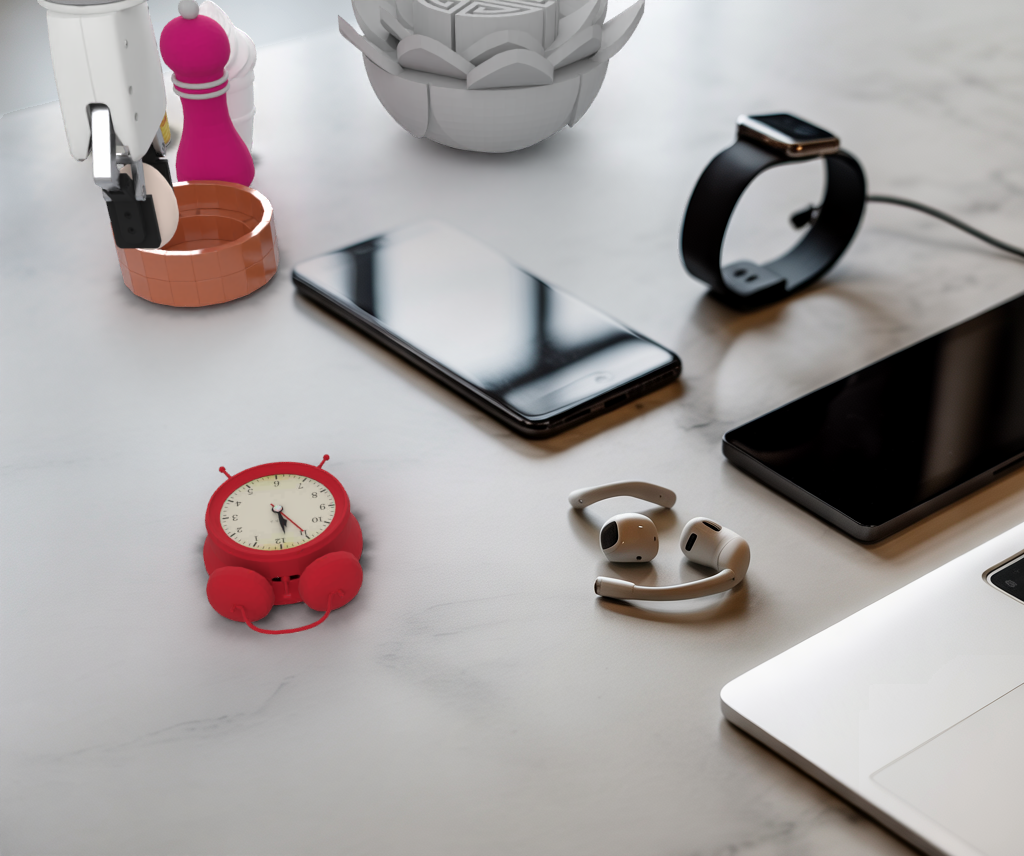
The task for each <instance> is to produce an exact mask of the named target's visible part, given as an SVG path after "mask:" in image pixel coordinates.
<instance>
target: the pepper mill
mask: <svg viewBox="0 0 1024 856" xmlns="http://www.w3.org/2000/svg"><path fill="white" fill-rule="evenodd" d="M199 5H200V4H199V3H198V2H197V0H179V2H178V3H177V10H178V14H179V15H178V16H176V17H174V18H172V19H171V20H170V21H168V22H167V23H166V24H165V25H164V26H163V29H162V30H161V33H160V36H159V44H158V45H159V51H160V52H159V54H160V56H161V58H162V60H163V63H164V64H165V65H166V66H167V67H168V68H169V69H170V70H171V72H173V73H172V74H171V76H170V80H171V82H172V91H173V93H174V94H175V95H176V96H178V97H179V99H180V103H181V108H182V115H183V123H182V130H181V131H182V132H181V137H180V140H179V145H178V148H177V151H176V156H175V165H174V166H175V175H176V176H175V177H176V179H177V182H184V181H191V180H217V181H218V180H219V181H226V182H232V183H239V184H242V185H244V186H247V187H250V186H251V185H252V183H253V181H254V180H255V176H256V175H255V174H256V168H255V164H254V160H253V159H254V158H253V157H252V154H250V152H249V150H248V148H247V146H246V144H245V143H244V141H243V140H242V138H241V137H240V135H239V134H238V132H237V131H236V129H235V127H234V125H233V123H232V121H231V118H230V116H229V111H228V106H227V97H226V92H227V91H228V90H229V88H230V82H229V81H228V77H229V74H228V72H227V70H226V69H225V68H224V67H225V65H226V64H227V62H228V60H229V58H230V53H231V50H230V43H229V39H228V36H227V34H226V32H225V30H224V29H223V28H222V26H221V25H220V24H219V23H218V22H216V21H215V20H214V19H212V18H210V17H207V16H204V15H200V14H199Z"/></svg>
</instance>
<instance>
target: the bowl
mask: <svg viewBox="0 0 1024 856" xmlns="http://www.w3.org/2000/svg"><path fill="white" fill-rule="evenodd" d="M172 184H173V189H174V194H175V197H176V201H177V205H178V211H179V221H178V225H177V229H176V231H175V233H174V235H173V237H172V238H171V239H170V241H169V242H168V243H166V244H165V245H164V246H162V247H161V248H159V249H155V250H143V249H122V248H119V247H117V245H116V243H115V238H114V234H113V230H112V226H111V222H110V223H109V224H110V228H111V233H112V238H113V242H114V246H115V251H116V254H117V255H116V256H117V258H118V263H119V266H120V271H121V274H122V280H123V283H124V285H125V286H126V288H127V289H128V290H130V292H131V293H132V294H133V295H135V296H136V297H139V298H142V299H144V300H146V301H148V302H151V303H153V304H159V305H164V306H169V307H176V308H199V307H200V308H201V307H206V306H212V305H218V304H219V305H220V304H224V303H228V302H231V301H234V300H236V299H240V298H242V297H245V296H248V295H251V294H252V293H253V292H255V291H257V290H258V289H260V288H262V287H264V286H265V285H267V284H268V283H269V281H270V280H271V279H273V277H274V276H275V275H276V273H277V272H278V268H279V265H280V259H281V258H280V251H279V244H278V236H277V229H276V222H275V215H274V209H273V207H272V204H271V202H270V200H269V198H267V197H266V196H265V195H263V194H262V193H261V192H260V191H259V190H257V189H255V188H252V187H250V186H249V187H247V186H244V185H242V184H239V183H232V182H226V181H219V180H218V181H217V180H191V181H184V182H178V181H177V182H172Z"/></svg>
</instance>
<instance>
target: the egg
mask: <svg viewBox="0 0 1024 856" xmlns="http://www.w3.org/2000/svg"><path fill="white" fill-rule="evenodd" d="M119 170H120V173H127V174H128V175H129V177H130V178H131V179H132V172H131V164H127V165H125V166H124V165H123V166H122V167H121V168H120V169H119ZM143 171H144V178H145V186H146V194H152V197H153V202H154V207H155V211H156V216H157V221H158V226H159V230H160V235H161V240H162V242H161V245H160V247H159V248H161V247H162V246H164V245H165V244H166V243H168V242H169V241H170V239H171V238H172V237H173V235H174V233H175V231H176V229H177V225H178V221H179V211H178V205H177V201H176V197H175V195H174V192H173V190H172V188H171V186H170V185H169V184H168V182H167V181H166V179H165V178H164V177H163V176H162V175H161V174H160V172H159V171H158V170H156V169H155V168H153V167H152V166H150V165H148V164H146V163H143ZM159 248H156V249H159ZM143 250H155V249H143Z"/></svg>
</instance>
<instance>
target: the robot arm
mask: <svg viewBox="0 0 1024 856" xmlns="http://www.w3.org/2000/svg"><path fill="white" fill-rule="evenodd" d="M147 1H149V0H36V2H37V4H38V5H39V6H40V7H41V8H43V9H46V12H45V13H46V14H45V15H46V27H47V37H48V44H49V52H50V58H51V65H52V71H53V76H54V81H55V82H54V83H55V87H56V93H57V97H58V102H59V106H60V107H59V108H60V112H61V116H62V121H63V127H64V131H65V136H66V141H67V145H68V149H69V153H70V155H71V157H72V159H74V160H75V161H76V162H77V163H78V162H79V163H83V162H85V161H86V160H88V158H89V156H90V154H91V153H92V155H91V156H92V179H93V182H94V184H95V185H96V186H98V187H99V188H100V189H101V192H102V198H103V200H104V202H105V205H106V209H107V213H108V217H109V221H110V222H111V224H110V227H111V226H112V229H111V231H112V230H113V234H114V238H115V242H114V244H115V243H116V245H117V247H119V248H122V249H156V248H159V247H160V245H161V242H162V240H161V235H160V230H159V226H158V221H157V216H156V211H155V207H154V202H153V197H152V194H146V186H145V178H144V171H143V163H146V164H148V165H150V166H152V167H153V168H155V169H156V170H158V171H159V172H160V174H161V175H162V176H163V177H164V178H165V179H166V181H167V182H168V184H169V185H170V186H171V188H172V190H173V192H174V189H173V184H172V183H173V179H172V175H171V168H170V164H169V160H168V158H166V155H167V148H166V147H167V146H165V142H164V139H163V135H162V132H161V129H160V124H161V122H162V120H163V117H164V115H165V111H166V112H167V104H168V103H167V91H166V84H165V78H164V72H163V67H162V62H161V57H160V56H161V55H160V52H159V47H158V42H157V39H156V35H155V29H154V26H153V21H152V17H151V14H150V7H149V5H148V2H147ZM116 146H123V147H124V150H125V153H116ZM127 164H131V172H132V179H131V178H130V177H129V175H128V174H127V173H120V169H119V168H118V165H123V167H124V166H125V165H127ZM174 195H175V194H174ZM113 234H112V235H113ZM114 238H113V239H114Z"/></svg>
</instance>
